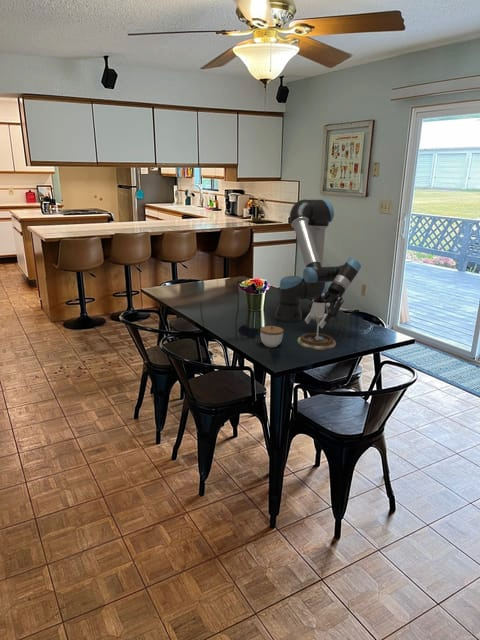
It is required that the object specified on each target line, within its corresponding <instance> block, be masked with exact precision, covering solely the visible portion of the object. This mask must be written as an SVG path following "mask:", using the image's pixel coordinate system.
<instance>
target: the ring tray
mask: <svg viewBox="0 0 480 640" xmlns="http://www.w3.org/2000/svg"><path fill="white" fill-rule="evenodd" d="M316 335H317V332H307V333H304V334H301V335H300V336H299V337H298V338H297V344H298V345H299V346H301V347H303V348H305V349H311V350H318V351H319V350H320V351H321V350H322V351H325V350H331V349H334V348H335V347H336V344H337V342H336V340H335V339H334V337H332V336H331V335H328V334H326V333H319V332H318V336H321V337H324V340H313V339H311V337H312V336H316Z"/></svg>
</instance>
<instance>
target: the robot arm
mask: <svg viewBox="0 0 480 640" xmlns="http://www.w3.org/2000/svg"><path fill="white" fill-rule="evenodd" d="M333 206H334V205H333V204H332V202H331V201H329V200H327V199H300V200H298V201H296V202H295V203H294V204H293V206H292V208H291V210H290V212H289V223H290V226H291V228H293V230H294V233H295V236H296V238H297V242H298V246H299V249H300V252H301V256H302V259H303V262H304V266H305V268H304V269H303V272H302V277H301V276H299V275H289V276H284V277H282V278H281V279H280V281H279V286H278V287H279V291H278V292H279V293H278V305H277V308H276V310H275V314H274V319H276V320H278V321H280V322H287V323H288V322H289V323H295V322H301V321H302V320H303V312H302V309H301V300H323V301H326V304H329V306H328V314H325V316H324V317H323V319H322V320H321V322H320V323H319V328H320V329H323V328H324V326H325V325H326V324H327V323H328V322H329V321H330V319H331V318H336V317H337V315H338V313H339V311H340V309H341V307H342V305H343V304H344V302H345V299H344V298H343V295H344V294H345V292H346V291H347V289H348V288H349V286H350V285H351V284H352V282H353V280H354V279H355V278H356V276H357V275H358V273H359V271H360V270H361V268H362V265H361V263H360V262H359V260H357V259H355V258H348V259H347V260H346V261H345V263H344V264H341V265H337V266H323V263H324V262H323V261H324V252H325V251H324V249H325V237H326V229H328V227H329V223H332V221H333V219H334V217H335V211H334V207H333ZM328 283H330V285H329V286H328ZM312 304H313V301H312V302H311V303H310V304H309V305H308V308H309V309H310V310H311V307H312ZM310 310H309V311H308V313H307V316H306V317H305V318H304V321H305V323H306V324H307V325H308V324H310V322H311V320H313V318H312V317H311V315H310Z"/></svg>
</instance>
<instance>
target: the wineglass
mask: <svg viewBox="0 0 480 640" xmlns="http://www.w3.org/2000/svg"><path fill="white" fill-rule="evenodd" d="M312 302H313V304H312V307H311V309H310V310H309V311H310V315H311V317H312V320H313V321H314V322H315V323H316V326H317V327H316V333H317V335H316V336H312V337H311V339H313V340H324V337H321V336H318V333H319V329H320V326H319V323H320V322H321V320H322V319H323V317H324V316H325V314H328V311H329V309H328V305H327V303H326V301H323V300H315V299H313V301H312Z"/></svg>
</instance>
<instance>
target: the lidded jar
mask: <svg viewBox="0 0 480 640" xmlns="http://www.w3.org/2000/svg"><path fill="white" fill-rule="evenodd" d="M259 335H260V340H261V342H262V343H263V345H264V347H267V348H276V347H278V346H279V345H280V344H281V342H282V340H283V337H284V329H283V328H282V327H280V326H274V325H265V326H262V327H260V334H259Z"/></svg>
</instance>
